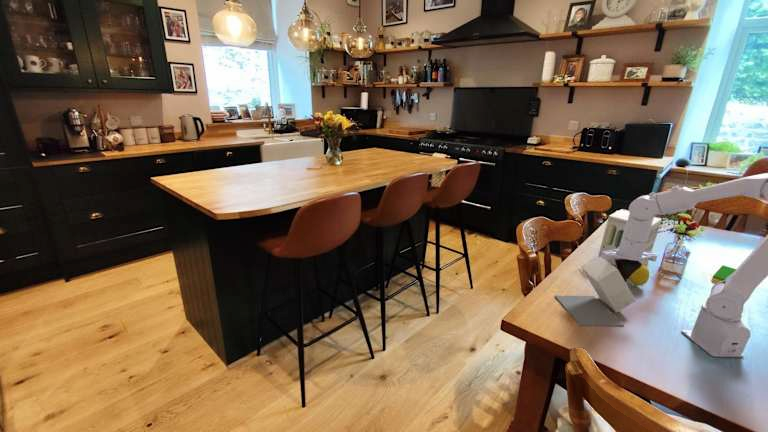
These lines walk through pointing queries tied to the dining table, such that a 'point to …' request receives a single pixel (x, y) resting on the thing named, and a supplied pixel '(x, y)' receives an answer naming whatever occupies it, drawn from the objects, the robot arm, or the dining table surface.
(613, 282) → the small box
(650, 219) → the robot arm
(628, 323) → the dining table surface
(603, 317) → the slate rubber mat
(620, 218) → the supplement box
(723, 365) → the dining table surface
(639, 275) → the lemon
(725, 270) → the dish sponge
